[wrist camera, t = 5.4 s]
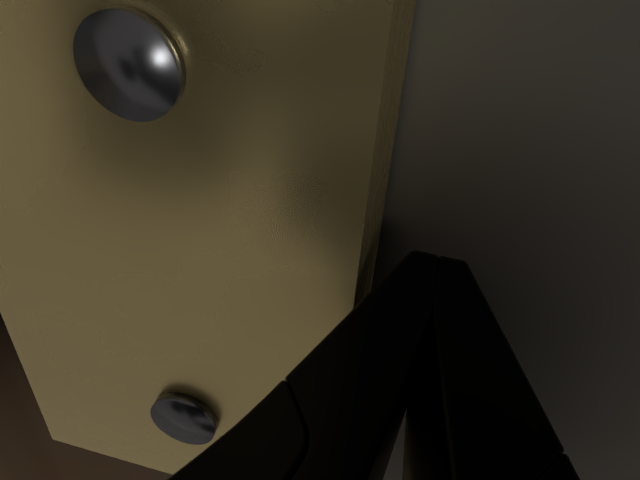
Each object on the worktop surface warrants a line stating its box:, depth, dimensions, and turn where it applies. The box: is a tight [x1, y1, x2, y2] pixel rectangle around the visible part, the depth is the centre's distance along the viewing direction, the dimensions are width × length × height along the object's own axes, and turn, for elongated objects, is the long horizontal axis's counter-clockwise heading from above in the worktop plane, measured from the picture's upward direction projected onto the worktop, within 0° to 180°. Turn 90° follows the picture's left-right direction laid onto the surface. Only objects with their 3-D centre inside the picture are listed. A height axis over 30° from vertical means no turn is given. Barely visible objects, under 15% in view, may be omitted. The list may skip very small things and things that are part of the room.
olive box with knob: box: [0, 0, 416, 474], centre depth 9 cm, size 10×11×4 cm
